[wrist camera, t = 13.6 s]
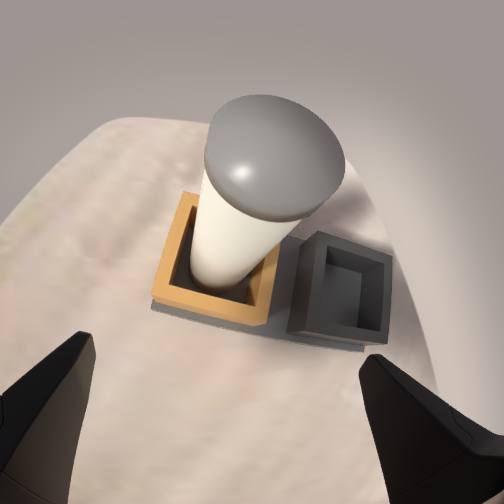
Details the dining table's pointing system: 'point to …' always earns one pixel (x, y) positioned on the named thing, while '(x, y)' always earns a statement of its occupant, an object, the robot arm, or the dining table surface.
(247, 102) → the plug
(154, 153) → the dining table surface
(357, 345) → the two-tone square organizer tray
